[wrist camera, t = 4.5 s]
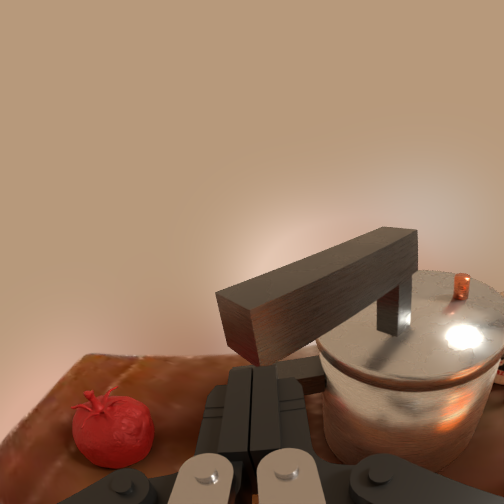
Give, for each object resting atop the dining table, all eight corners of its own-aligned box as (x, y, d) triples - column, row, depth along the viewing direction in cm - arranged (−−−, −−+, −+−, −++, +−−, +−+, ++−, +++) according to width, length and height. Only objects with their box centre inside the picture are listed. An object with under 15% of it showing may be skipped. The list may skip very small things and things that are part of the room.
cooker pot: (436, 354, 35) (444, 275, 32) (501, 439, 18) (541, 344, 15) (252, 393, 37) (234, 313, 34) (247, 511, 19) (213, 436, 16)
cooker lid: (386, 272, 36) (382, 200, 34) (523, 300, 21) (531, 209, 19) (196, 372, 23) (165, 265, 21) (383, 530, 8) (436, 393, 5)
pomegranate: (166, 473, 25) (131, 415, 22) (85, 480, 22) (42, 425, 20) (161, 416, 34) (136, 359, 32) (94, 426, 32) (63, 372, 29)
